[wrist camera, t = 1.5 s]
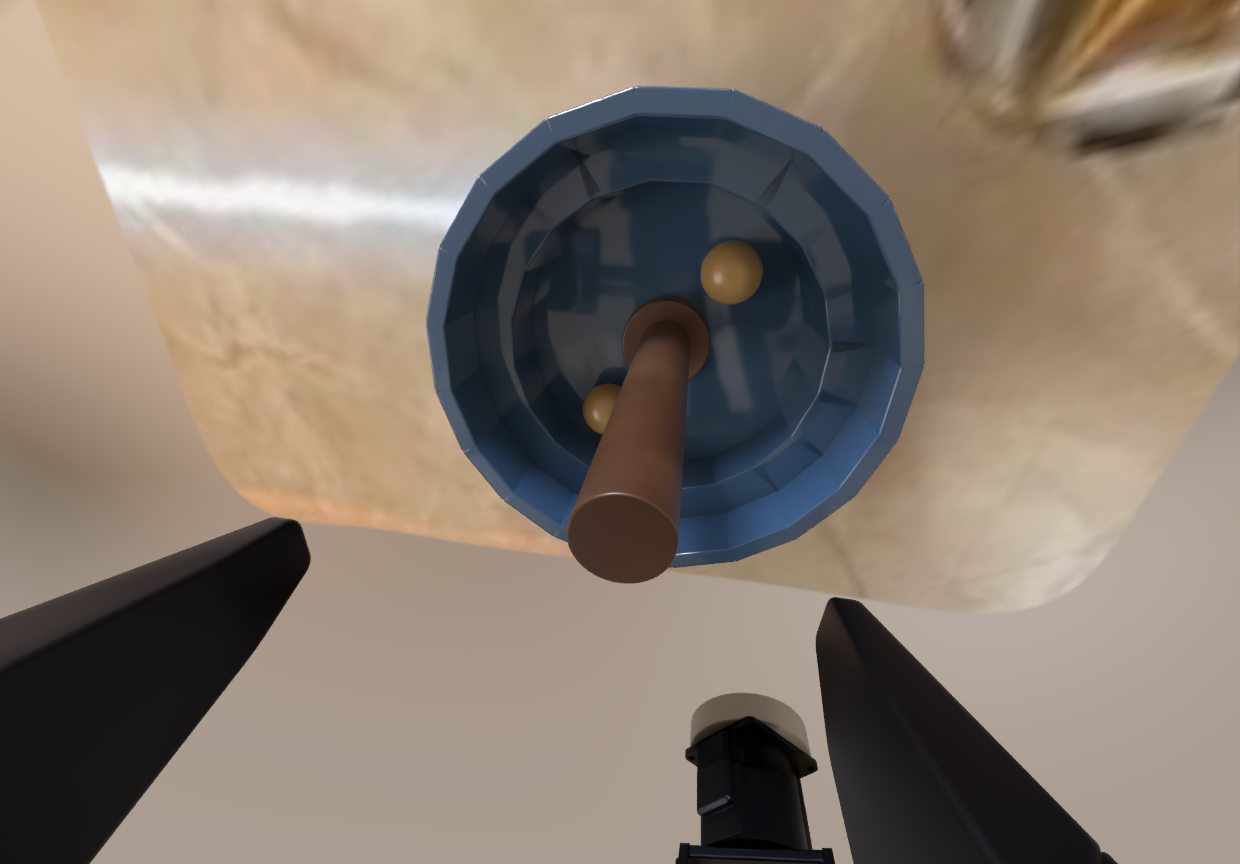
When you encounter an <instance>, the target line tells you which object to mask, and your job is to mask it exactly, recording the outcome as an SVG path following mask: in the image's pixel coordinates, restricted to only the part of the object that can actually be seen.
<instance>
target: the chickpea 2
mask: <svg viewBox="0 0 1240 864" xmlns="http://www.w3.org/2000/svg"><path fill="white" fill-rule="evenodd" d="M700 277H701V283H702V286H703V288H704V290H705V292H706V293H707V295H708V296H709V297H710V298H712V299H713V300H714V301H716V302H719V303H721V304H727V305H732V304H738V303H741V302H743V301H745V300H747V299H748V298H750V297H751V296H752V295H753V294H754V293H755V292H756V290H757V289H758V287H759V285H760V283H761V281H762V277H763V264H762V260H761V258H760V255H759V254H758V252H757V251H756V250H755V249H754V248H753V247H752V246H751V245H749V244H747V243H745V242H742V241H737V240H731V241H726V242H722V243H720V244H718V245H717V246H715V247H714V248H713V249H711V251H710V252H709V253H708V254H707V255H706V257H705V259H704V261H703V263H702V266H701V273H700Z"/></svg>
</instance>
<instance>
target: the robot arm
mask: <svg viewBox="0 0 1240 864" xmlns="http://www.w3.org/2000/svg"><path fill="white" fill-rule="evenodd" d="M310 559H311V556H310V552H309V549H308V546H307V542H306V539H305V536H304V533H303V530H302V527H301V525H300V524H299V523H298V522H297V521H295V520H292V519H285V518H278V517H273V518H269V519H266V520H263V521H261V522H258V523H255V524H253V525H250V526H247V527H244V528H242V529H239V530H236V531H234V532H231V533H229V534H226V535H223V536H221V537H218V538H215V539H212V540H210V541H207V542H204V543H202V544H199V545H196V546H194V547H191V548H189V549H186V550H183V551H180V552H178V553H175V554H172V555H170V556H167V557H164V558H162V559H159V560H156V561H154V562H151V563H148V564H146V565H143V566H140V567H138V568H135V569H132V570H129V571H127V572H124V573H122V574H119V575H116V576H113V577H111V578H108V579H105V580H103V581H100V582H98V583H95V584H92V585H90V586H87V587H84V588H81V589H79V590H76V591H74V592H71V593H68V594H65V595H63V596H60V597H57V598H55V599H52V600H49V601H47V602H44V603H42V604H39V605H36V606H33V607H31V608H28V609H26V610H23V611H20V612H17V613H15V614H12V615H9V616H7V617H4V618H1V619H0V864H90V862H91V861H92V860H93V859H94V857H95V856H96V855H97V854H98V852H99V851H100V850H101V848H102V847H103V846H104V844H105V843H106V842H107V841H108V839H109V838H110V837H111V836H112V834H113V833H114V832H115V830H116V829H117V828H118V827H119V825H120V824H121V823H122V821H123V820H124V819H125V818H126V816H127V815H128V814H129V812H130V811H131V810H132V809H133V807H134V806H135V805H136V803H137V802H138V801H139V800H140V798H141V797H142V796H143V794H144V793H145V792H146V791H147V789H148V788H149V786H150V785H151V784H152V783H153V782H154V780H155V779H156V778H157V776H158V775H159V774H160V772H161V771H162V770H163V769H164V767H165V766H166V765H167V763H168V762H169V761H170V760H171V758H172V757H173V756H174V754H175V753H176V752H177V751H178V749H179V748H180V747H181V745H182V744H183V743H184V742H185V740H186V739H187V738H188V736H189V735H190V734H191V732H192V731H193V730H194V729H195V727H196V726H197V725H198V724H199V722H200V721H201V720H202V718H203V717H204V716H205V714H206V713H207V712H208V711H209V709H210V708H211V707H212V706H213V704H214V703H215V702H216V700H217V699H218V698H219V696H220V695H221V694H222V692H223V691H224V690H225V689H226V688H227V686H228V685H229V683H230V682H231V681H232V680H233V678H234V677H235V676H236V674H237V673H238V672H239V671H240V669H241V668H242V667H243V666H244V664H245V663H246V662H247V660H248V659H249V657H250V656H251V655H252V654H253V652H254V651H255V649H256V648H257V647H258V645H259V644H260V642H261V641H262V639H263V638H264V636H265V635H266V633H267V632H268V630H269V629H270V627H271V626H272V624H273V622H274V621H275V619H276V618H277V616H278V615H279V613H280V612H281V610H282V609H283V607H284V605H285V604H286V602H287V600H288V599H289V598H290V596H291V595H292V593H293V591H294V590H295V588H296V587H297V585H298V584H299V582H300V581H301V579H302V578H303V576H304V575H305V573H306V571H307V570H308V567H309V565H310ZM816 653H817V662H818V670H819V679H820V687H821V694H822V704H823V712H824V719H825V720H824V721H825V728H826V736H827V744H828V750H829V756H830V761H831V766H832V770H833V775H834V779H835V783H836V788H837V792H838V797H839V801H840V806H841V810H842V814H843V819H844V823H845V828H846V832H847V836H848V841H849V845H850V849H851V854H852V858H853V862H854V864H1118V863H1117V862H1116V861H1115V860H1114V859H1113V858H1112V857H1111V856H1110V855H1109V854H1107V853H1105V852H1101V851H1100V847H1099V845H1098V843H1097V842H1095V840H1094V839H1093V838H1092V837H1091V836H1090V835H1089V834H1088V833H1087V832H1086V831H1085V830H1084V829H1083V828H1082V827H1081V826H1080V825H1079V824H1078V823H1077V822H1076V821H1075V820H1074V819H1073V818H1072V817H1071V816H1070V815H1069V814H1068V813H1067V812H1066V811H1065V810H1064V809H1063V808H1062V807H1061V806H1060V805H1059V804H1058V803H1057V802H1056V801H1055V800H1054V799H1053V798H1052V797H1051V796H1050V795H1049V793H1048V792H1046V790H1045V789H1044V788H1043V787H1041V785H1040V784H1039V783H1038V782H1037V781H1036V780H1035V779H1034V778H1032V776H1031V775H1030V774H1029V773H1028V772H1027V771H1026V770H1025V769H1024V768H1023V767H1022V766H1021V765H1020V764H1019V763H1018V762H1017V761H1016V760H1015V759H1014V758H1013V757H1012V756H1011V755H1010V754H1009V753H1008V752H1007V751H1006V750H1005V749H1004V748H1003V747H1002V746H1001V745H1000V744H999V743H998V742H997V741H996V740H995V739H994V738H993V737H992V736H991V734H990V733H988V731H987V730H986V729H984V727H983V726H982V725H981V724H980V723H979V722H978V721H977V720H976V719H975V718H974V717H973V716H972V715H971V714H970V713H969V712H968V711H967V710H966V709H965V708H964V707H963V706H962V705H961V704H960V703H959V702H958V701H957V700H956V699H955V698H954V697H953V696H952V695H951V694H950V693H949V692H948V691H947V690H946V689H945V688H944V687H943V686H942V685H941V684H940V683H939V682H938V681H937V680H936V679H935V677H934V676H933V675H932V674H931V673H929V671H928V670H927V669H926V668H925V667H923V665H922V664H921V663H920V662H919V661H918V660H917V659H915V657H914V656H913V655H912V654H911V653H910V652H909V651H908V650H907V649H906V648H905V647H904V646H903V645H902V644H901V643H900V642H899V641H898V640H897V639H896V638H895V637H894V636H893V635H892V634H891V633H890V632H889V631H888V630H887V629H886V628H885V627H884V626H883V625H882V624H881V623H880V622H879V621H878V619H877V618H876V617H875V616H874V615H873V614H872V613H871V612H870V611H868V609H867V608H866V607H865V606H864V605H863V604H862V603H860V602H859V601H856V600H851V599H844V598H837V597H834V598H831V599H830V600H829V601H828V603H827V605H826V608H825V611H824V614H823V617H822V620H821V622H820V625H819V628H818V631H817V635H816ZM685 758H686V760H688V761H689V762H691V763H692V764H694V765H695V766H697V812H698V814H699V815H700V816H701V846H699V845H690V844H689V843H680V849H679V857H678V858H677V859H676V864H835V861H834V856H833V852H832V848H822V850H812V844H811V838H810V832H809V826H808V821H807V815H806V809H805V803H804V797H803V792H802V786H801V780H800V779H801V778H803V777H805V776H807V775H810V774H812V773H814V772H816V771H817V770H818V766H817V762H816V760H815V759H814V758H812V757H811V756H809V755H808V754H807V753H805V752H804V751H802V750H801V749H799V748H798V747H797V746H795V745H794V744H792V743H791V742H789V741H788V740H787V739H785V738H784V737H782V736H781V735H779V734H778V733H777V732H775V731H774V730H772V729H771V728H770V727H768V726H767V725H765V724H764V723H762V722H761V721H760V720H758V719H757V718H755V717H753V716H746V717H743V718H742V719H740V720H738V721H736V722H734V723H733V724H731V725H729V726H727V727H725V728H723V729H722V730H720V731H718V732H716V733H714V734H713V735H711V736H709V737H707V738H705V739H703V740H702V741H700V742H698V743H696V744H694V745H692V746H691V747H689V748H687V749H686V750H685Z"/></svg>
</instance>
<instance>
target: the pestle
mask: <svg viewBox="0 0 1240 864" xmlns="http://www.w3.org/2000/svg"><path fill="white" fill-rule="evenodd" d="M622 351H623V355H624V358H625V360H626V362H627V364H628V366H629V367H630V368H629V370H628V373H627V375H626V378H625V380H624V383H623V385H622V388H621V390H620V392H619V395H618V397H617V400H616V402H615V405H614V407H613V410H612V412H611V415H610V417H609V420H608V422H607V425H606V427H605V430H604V432H603V435H602V437H601V440H600V442H599V445H598V447H597V450H596V452H595V455H594V457H593V460H592V462H591V465H590V467H589V470H588V472H587V475H586V477H585V480H584V482H583V485H582V487H581V490H580V492H579V495H578V497H577V500H576V502H575V505H574V507H573V510H572V512H571V515H570V517H569V520H568V523H567V529H566V535H567V541H568V545H569V548H570V550H571V552H572V554H573V555H574V557H575V558H576V560H577V561H578V562H579V563H580V564H581V565H582V566H583V567H584V568H585V569H587V570H588V571H590V572H591V573H593V574H594V575H596V576H598V577H600V578H603V579H605V580H609V581H612V582H618V583H640V582H644V581H648V580H650V579H653V578H655V577H657V576H659V575H660V574H661V573H663V572H664V571H665V570H666V569H667V568H668V567H669V566H670V565H671V563H672V562H673V560H674V559H675V556H676V554H677V550H678V543H679V526H680V510H681V493H682V477H683V460H684V443H685V427H686V410H687V394H688V380H690V379H691V378H692V377H694V376H695V375H696V374H697V373H698V372H699V371H700V370H701V369H702V367H703V366H704V364H705V362H706V360H707V358H708V355H709V351H710V332H709V328H708V324H707V322H706V320H705V318H704V316H703V315H702V313H701V312H700V311H699V310H698V309H697V308H696V307H695V306H694V305H692V304H691V303H689V302H688V301H686V300H683V299H681V298H677V297H671V296H663V297H657V298H654V299H651V300H649V301H646V302H645V303H643V304H642V305H640V306H639V307H638V308H637V309H636V310H635V311H634V312H633V314H632V315H631V316H630V318H629V320H628V322H627V324H626V325H625V328H624V331H623V335H622Z"/></svg>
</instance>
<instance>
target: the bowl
mask: <svg viewBox="0 0 1240 864" xmlns="http://www.w3.org/2000/svg"><path fill="white" fill-rule="evenodd" d="M731 240H737V241H742V242H745V243H747V244H749V245H751V246H752V247H753V248H754V249H755V250H756V251H757V252H758V254H759V255H760V258H761V260H762V264H763V277H762V281H761V283H760V285H759V287H758V289H757V290H756V292H755V293H754V294H753V295H752V296H751V297H750V298H748V299H747V300H745V301H743V302H741V303H738V304H732V305H727V304H721V303H719V302H716V301H714V300H713V299H712V298H710V297H709V296H708V295H707V293H706V292H705V290H704V288H703V286H702V283H701V277H700V273H701V266H702V263H703V261H704V259H705V257H706V255H707V254H708V253H709V252H710V251H711V249H713V248H714V247H715V246H717V245H718V244H720V243H722V242H726V241H731ZM663 296H671V297H677V298H681V299H683V300H686V301H688V302H689V303H691V304H692V305H694V306H695V307H696V308H697V309H698V310H699V311H700V312H701V313H702V315H703V316H704V318H705V320H706V322H707V324H708V328H709V332H710V351H709V355H708V358H707V360H706V362H705V364H704V366H703V367H702V369H701V370H700V371H699V372H698V373H697V374H696V375H695V376H694V377H692V378H691V379H690V380H688V394H687V410H686V427H685V443H684V460H683V477H682V493H681V510H680V526H679V543H678V550H677V554H676V556H675V559H674V560H673V562H672V563H671V565H670V566H669V568H671V567H673V568H677V567H686V566H696V565H705V564H715V563H725V562H734V561H739V560H741V559H744V558H747V557H749V556H752V555H755V554H757V553H760V552H763V551H766V550H768V549H771V548H774V547H776V546H779V545H782V544H784V543H787V542H790V541H792V540H795V539H797V537H800V536H801V535H803V534H804V533H805V532H807V531H808V530H810V529H811V528H812V527H814V526H815V525H817V524H818V523H819V522H821V521H822V520H823V519H825V518H826V517H828V516H829V515H830V514H832V513H833V512H835V511H836V510H837V509H839V508H840V507H841V506H843V505H844V504H846V503H847V502H848V501H850V500H851V499H852V497H855V496H856V494H857V493H858V492H859V491H860V489H861V488H862V487H863V485H864V484H865V483H866V481H867V480H868V479H869V478H870V476H871V475H872V474H873V472H874V471H875V470H876V468H877V467H878V466H879V465H880V463H881V462H882V461H883V459H884V458H885V457H886V455H887V454H888V453H889V452H890V450H891V449H892V448H893V446H894V445H895V444H896V442H897V441H898V438H899V436H900V434H901V431H902V428H903V425H904V422H905V419H906V416H907V414H908V411H909V408H910V405H911V402H912V399H913V397H914V394H915V391H916V388H917V385H918V382H919V379H920V377H921V374H922V371H923V368H924V367H923V366H924V364H925V363H924V283H923V282H922V276H921V274H920V271H919V269H918V266H917V264H916V261H915V259H914V256H913V254H912V251H911V249H910V246H909V244H908V241H907V239H906V236H905V234H904V231H903V229H902V226H901V224H900V221H899V219H898V216H897V214H896V211H895V209H894V206H893V204H892V201H891V200H890V199H889V196H888V195H887V194H886V193H885V192H884V191H883V189H882V188H881V187H880V186H879V185H878V184H877V183H876V182H875V181H874V180H873V179H872V178H871V177H870V176H869V175H868V174H867V173H866V172H865V171H864V170H863V169H862V168H861V167H860V166H859V165H858V163H857V162H856V161H855V160H854V159H853V158H852V157H851V156H850V155H849V154H848V153H847V152H846V151H845V150H844V149H843V148H842V147H841V146H840V145H839V144H838V143H837V142H836V141H835V140H834V139H833V137H832V136H831V135H830V134H829V133H828V132H827V131H826V130H823V128H822V127H819V126H817V125H815V124H813V123H810V122H808V121H806V120H804V119H801V118H799V117H797V116H794V115H792V114H790V113H788V112H785V111H783V110H781V109H779V108H776V107H774V106H772V105H770V104H767V103H765V102H763V101H760V100H758V99H756V98H754V97H751V96H749V95H747V94H745V93H742V92H740V91H738V90H736V89H735V90H733V91H732V90H731V89H724V88H691V87H658V86H637V87H635V88H634V87H630V88H627V89H625V90H622V91H619V92H616V93H614V94H611V95H608V96H605V97H602V98H600V99H597V100H594V101H591V102H589V103H586V104H583V105H580V106H578V107H575V108H572V109H569V110H566V111H564V112H561V113H558V114H555V115H553V116H550V117H548V118H547V120H546V119H545V120H543V121H542V122H540V123H539V124H538V125H537V126H536V127H535V128H534V129H532V130H531V131H530V132H529V133H528V134H527V135H525V136H524V137H523V138H522V139H521V140H520V141H518V142H517V143H516V144H515V145H514V146H513V147H512V148H510V149H509V150H508V151H507V152H506V153H505V154H503V155H502V156H501V157H500V158H499V159H498V160H496V161H495V162H494V163H493V164H492V165H491V166H490V167H488V168H487V169H486V170H485V171H484V172H483V173H481V174H480V177H478V178H477V180H476V181H475V183H474V185H473V187H472V189H471V190H470V192H469V194H468V196H467V198H466V199H465V201H464V203H463V205H462V207H461V208H460V210H459V212H458V214H457V216H456V217H455V219H454V221H453V223H452V225H451V226H450V228H449V230H448V232H447V234H446V235H445V237H444V239H443V241H442V243H441V244H440V248H439V250H438V255H437V261H436V266H435V272H434V278H433V283H432V289H431V294H430V300H429V306H428V311H427V317H426V321H427V322H426V328H427V335H428V342H429V350H430V357H431V364H432V372H433V379H434V387H435V390H436V394H437V396H438V398H439V401H440V403H441V405H442V407H443V409H444V412H445V414H446V416H447V418H448V421H449V423H450V425H451V427H452V429H453V432H454V434H455V436H456V438H457V440H458V443H459V445H460V447H461V449H462V450H463V452H464V454H465V455H466V456H467V457H468V459H469V460H470V461H471V462H472V463H473V465H474V466H475V467H476V468H477V470H478V471H479V472H480V473H481V474H482V476H483V477H484V478H485V479H486V480H487V482H488V483H489V484H490V485H491V486H492V488H493V489H494V490H495V491H496V492H497V494H498V495H499V496H500V497H501V498H502V499H504V501H505V502H506V503H508V504H509V505H510V506H512V507H513V508H514V509H516V510H517V511H519V512H520V513H521V514H523V515H524V516H526V517H527V518H528V519H530V520H531V521H533V522H534V523H535V524H537V525H538V526H539V527H541V528H542V529H544V530H545V531H546V532H548V533H549V534H551V535H552V536H554V537H556V538H558V539H561V540H563V541H566V542H568V541H567V535H566V529H567V523H568V520H569V517H570V515H571V512H572V510H573V507H574V505H575V502H576V500H577V497H578V495H579V492H580V490H581V487H582V485H583V482H584V480H585V477H586V475H587V472H588V470H589V467H590V465H591V462H592V460H593V457H594V455H595V452H596V450H597V447H598V445H599V442H600V440H601V437H602V434H599V433H597V432H595V431H594V430H592V429H591V428H590V427H589V426H588V424H587V423H586V421H585V419H584V416H583V403H584V400H585V398H586V396H587V394H588V393H589V392H590V391H591V390H592V389H593V388H595V387H597V386H599V385H602V384H616V385H618V386H621V387H622V385H623V383H624V380H625V378H626V375H627V373H628V370H629V368H630V367H629V366H628V364H627V362H626V360H625V358H624V355H623V351H622V335H623V331H624V328H625V325H626V324H627V322H628V320H629V318H630V316H631V315H632V314H633V312H634V311H635V310H636V309H637V308H638V307H639V306H640V305H642V304H643V303H645V302H646V301H649V300H651V299H654V298H657V297H663Z"/></svg>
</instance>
